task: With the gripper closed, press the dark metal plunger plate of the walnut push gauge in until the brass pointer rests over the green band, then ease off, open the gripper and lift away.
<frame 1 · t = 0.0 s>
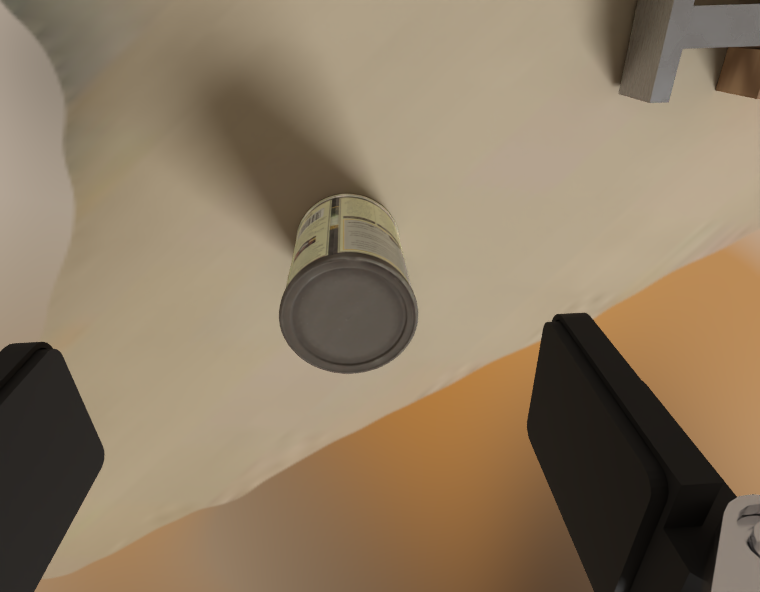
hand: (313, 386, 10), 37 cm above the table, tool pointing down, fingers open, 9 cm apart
gauge plunger: (716, 9, 37), point 3 cm above the table, slide at 0.0 cm
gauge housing: (735, 23, 40), on the table
coffee can: (349, 241, 48), on the table
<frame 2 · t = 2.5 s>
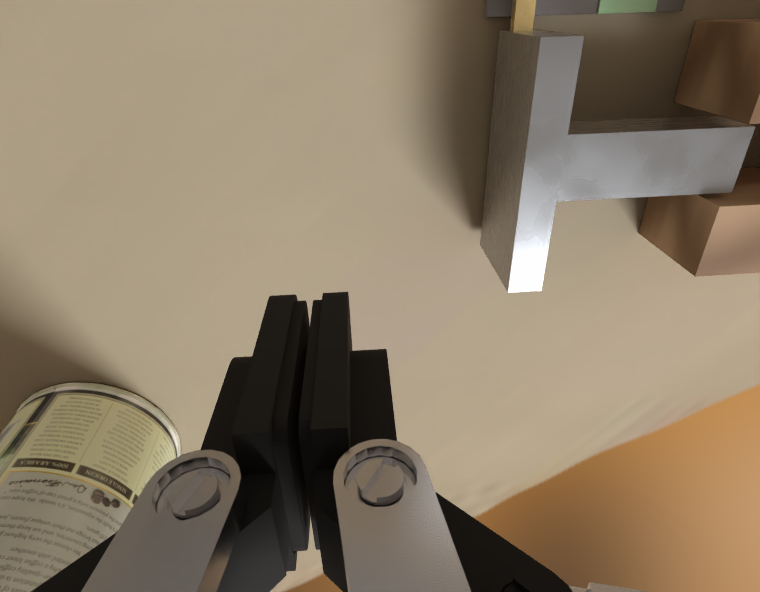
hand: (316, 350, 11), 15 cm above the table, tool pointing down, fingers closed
gauge plunger: (621, 133, 21), point 3 cm above the table, slide at 0.0 cm
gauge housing: (663, 138, 24), on the table
coffee can: (102, 437, 32), on the table
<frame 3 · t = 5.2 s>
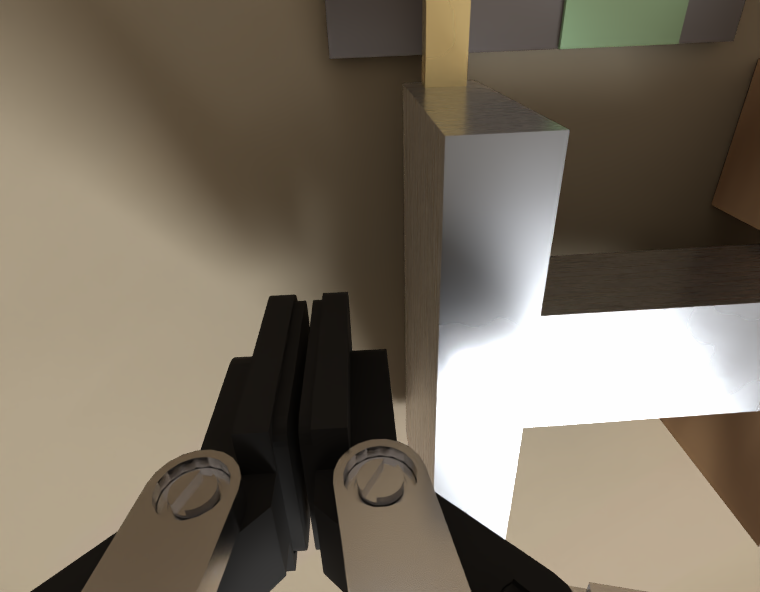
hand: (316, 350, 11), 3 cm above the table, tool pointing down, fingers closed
gauge plunger: (657, 291, 10), point 3 cm above the table, slide at 1.0 cm, touching gripper
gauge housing: (692, 263, 13), on the table
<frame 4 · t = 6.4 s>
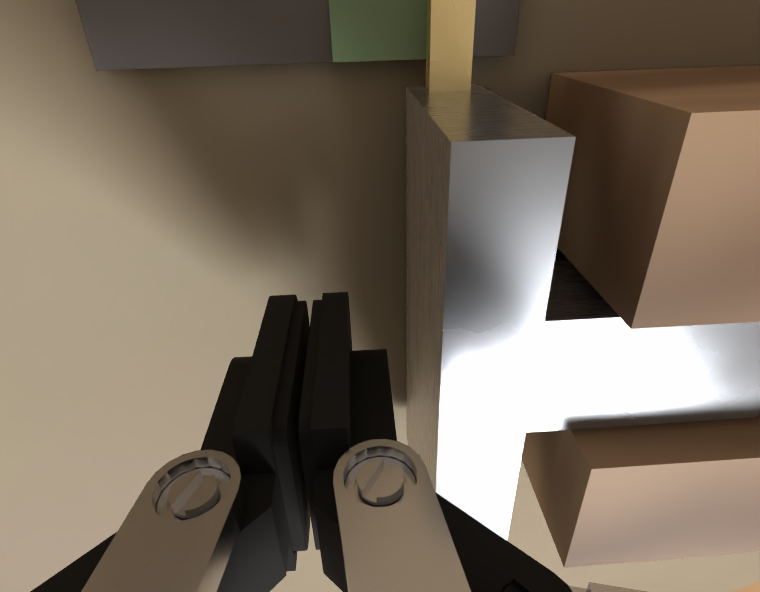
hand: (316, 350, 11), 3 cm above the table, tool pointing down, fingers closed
gauge plunger: (659, 296, 10), point 3 cm above the table, slide at 5.7 cm
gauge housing: (523, 277, 13), on the table
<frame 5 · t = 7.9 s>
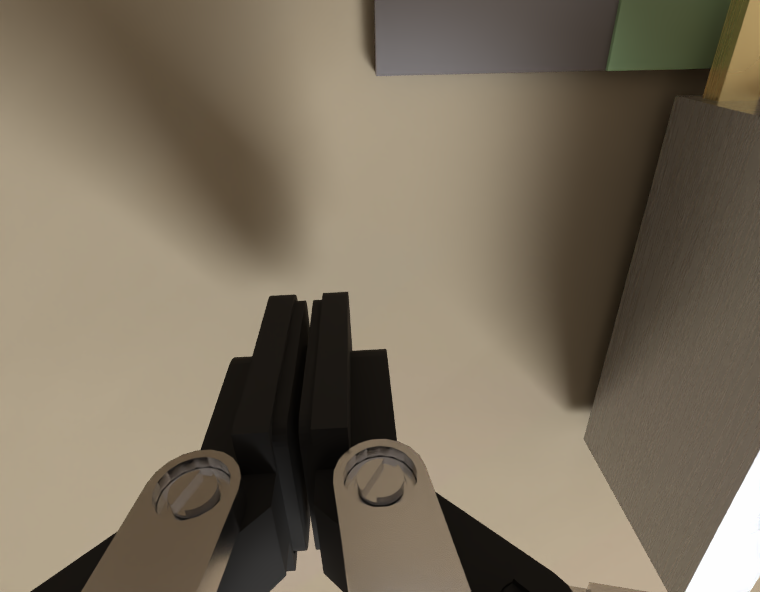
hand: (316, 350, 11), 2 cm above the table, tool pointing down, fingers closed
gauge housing: (725, 285, 13), on the table
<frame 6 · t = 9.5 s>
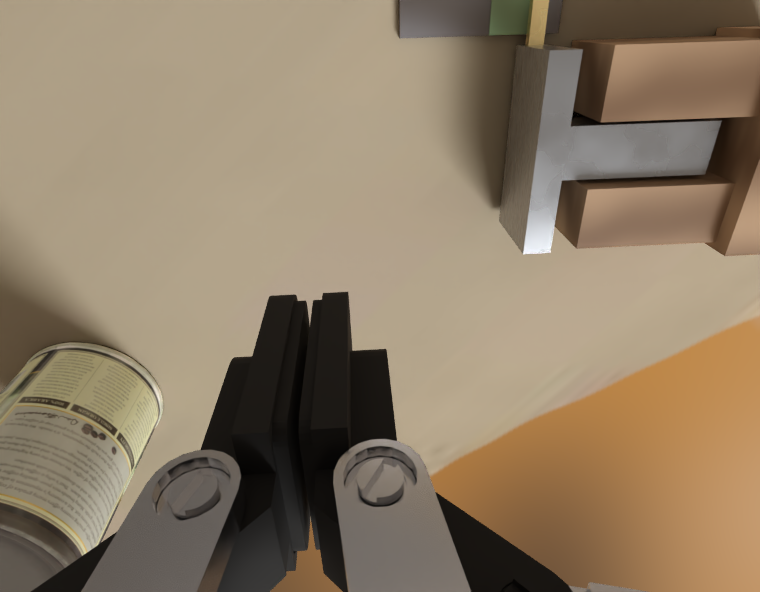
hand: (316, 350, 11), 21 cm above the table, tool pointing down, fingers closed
gauge plunger: (615, 126, 26), point 3 cm above the table, slide at 5.8 cm
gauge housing: (557, 136, 29), on the table
coffee can: (96, 393, 37), on the table
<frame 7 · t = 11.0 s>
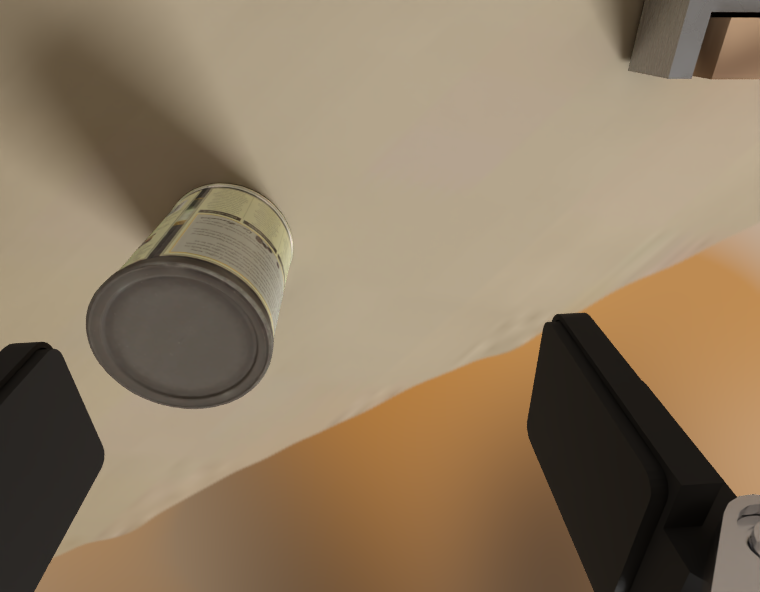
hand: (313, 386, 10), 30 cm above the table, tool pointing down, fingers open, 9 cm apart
coffee can: (232, 242, 40), on the table
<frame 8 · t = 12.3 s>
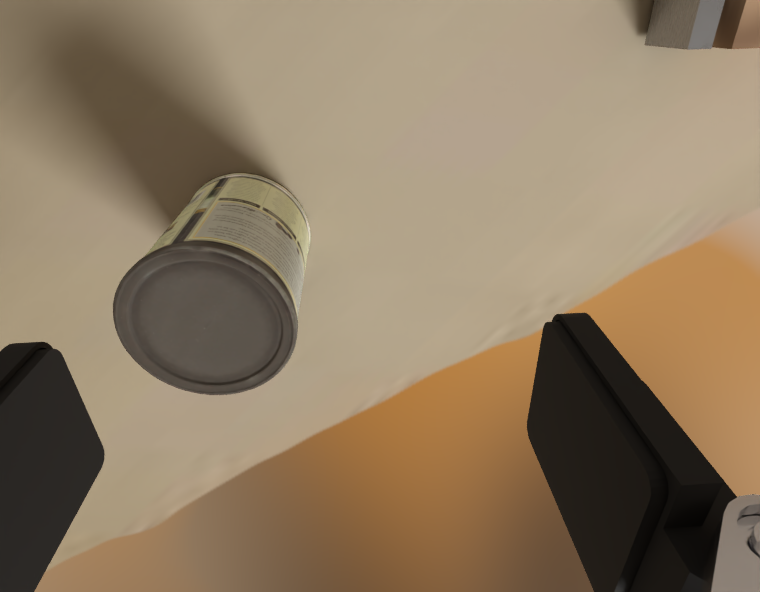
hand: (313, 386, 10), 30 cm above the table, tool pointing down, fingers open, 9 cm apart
coffee can: (250, 232, 40), on the table
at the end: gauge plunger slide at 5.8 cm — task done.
